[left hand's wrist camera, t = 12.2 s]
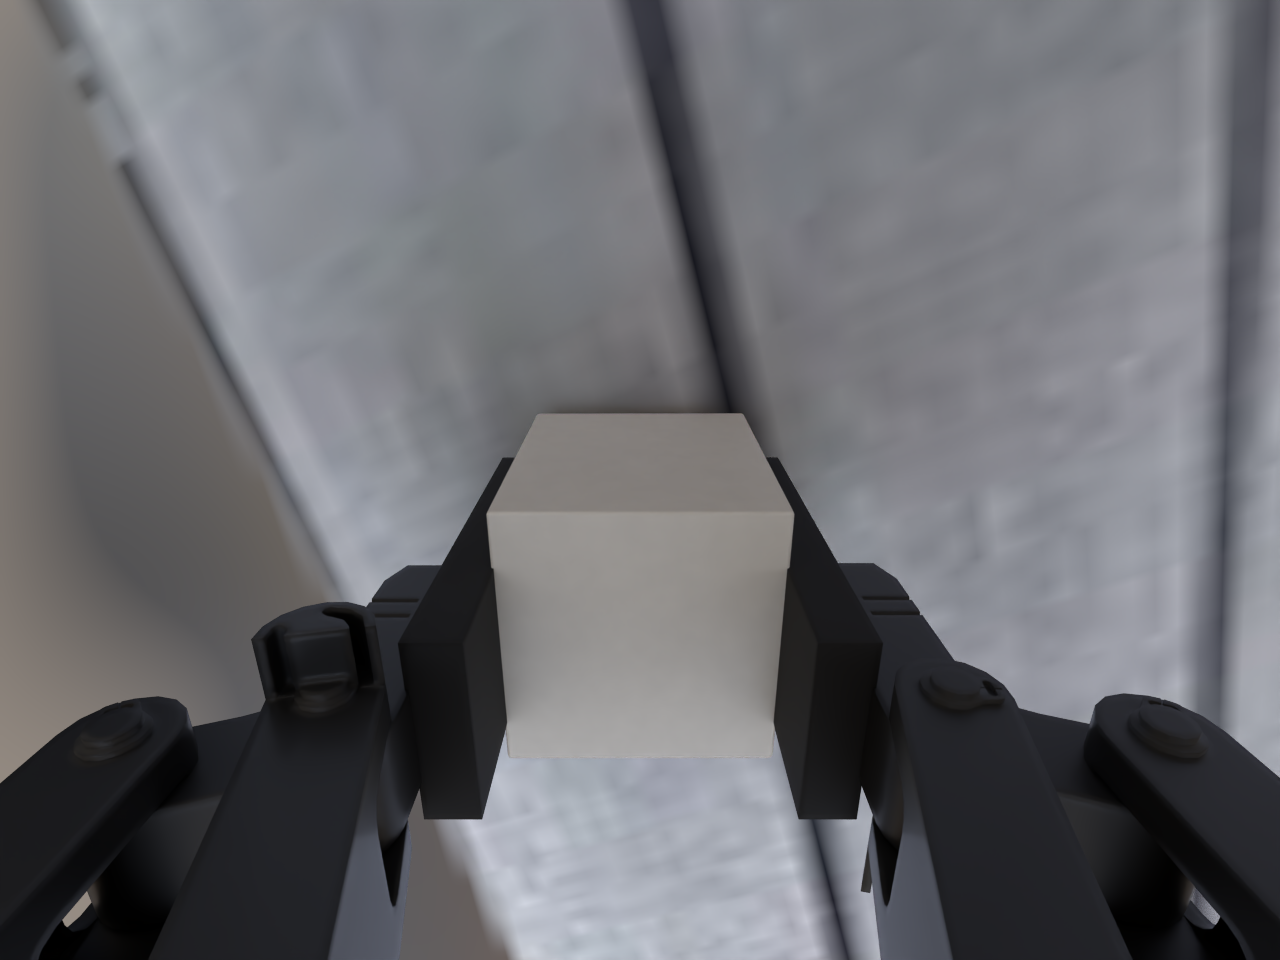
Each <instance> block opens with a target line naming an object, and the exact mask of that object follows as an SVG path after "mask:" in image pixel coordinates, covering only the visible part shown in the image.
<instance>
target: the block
mask: <svg viewBox="0 0 1280 960" xmlns="http://www.w3.org/2000/svg"><path fill="white" fill-rule="evenodd" d="M486 515H487V526H488V537H489V549H490V560H491V568H493V569H494V579H495V591H496V602H497V613H498V624H499V636H500V647H501V658H502V670H503V681H504V692H505V703H506V715H507V726H506V737H507V748H508V755H509V757H510V758H770V757H772V755H773V746H774V735H775V727H774V712H775V700H776V689H777V678H778V667H779V656H780V644H781V633H782V622H783V611H784V600H785V588H786V577H787V568H789V567H790V557H791V546H792V535H793V524H794V512H793V510H792V508H791V506H790V504H789V502H788V500H787V498H786V496H785V494H784V492H783V491H782V489H781V487H780V485H779V483H778V481H777V479H776V477H775V475H774V473H773V471H772V469H771V467H770V465H769V463H768V461H767V459H766V458H765V456H764V454H763V452H762V450H761V448H760V446H759V444H758V442H757V440H756V438H755V436H754V434H753V432H752V430H751V428H750V426H749V424H748V423H747V421H746V419H745V417H744V415H743V414H741V413H612V414H537V415H536V417H535V419H534V421H533V423H532V425H531V427H530V429H529V431H528V433H527V435H526V437H525V439H524V441H523V443H522V445H521V447H520V449H519V451H518V453H517V455H516V457H515V459H514V461H513V463H512V465H511V467H510V468H509V470H508V472H507V474H506V476H505V478H504V480H503V482H502V484H501V486H500V488H499V490H498V492H497V494H496V496H495V498H494V500H493V502H492V504H491V506H490V508H489V510H488V512H487V514H486Z"/></svg>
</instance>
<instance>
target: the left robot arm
mask: <svg viewBox="0 0 1280 960" xmlns="http://www.w3.org/2000/svg"><path fill="white" fill-rule="evenodd" d="M514 459H515V458H502V460H501V462H500V464H499V465H498V467H497V469H496V471H495V473H494V474H493V476H492V478H491V480H490V481H489V483H488V485H487V487H486V488H485V490H484V492H483V494H482V495H481V497H480V499H479V501H478V502H477V504H476V506H475V508H474V509H473V511H472V513H471V515H470V517H469V518H468V520H467V522H466V524H465V525H464V527H463V529H462V531H461V532H460V534H459V536H458V538H457V539H456V541H455V543H454V545H453V546H452V548H451V550H450V552H449V553H448V555H447V557H446V559H445V561H444V562H443V564H442V565H408V566H406V567H405V568H403V569H402V570H400V571H399V572H397V573H396V574H394V575H393V576H391V577H390V578H388V579H387V580H385V581H384V582H383V584H382V585H381V587H380V588H379V590H378V591H377V592H376V594H375V595H374V597H373V598H372V602H369V604H368V605H367V607H365V606H361V605H357V604H353V603H349V602H326V603H321V604H316V605H310V606H305V607H302V608H299V609H296V610H294V611H291V612H288V613H286V614H283V615H281V616H279V617H277V618H276V619H274V620H272V621H271V622H269V623H268V624H266V625H264V626H263V627H262V628H261V629H260V630H259V631H258V632H257V633H256V635H255V636H254V637H253V638H252V639H251V641H252V645H253V649H254V653H255V657H256V661H257V665H258V670H259V674H260V678H261V682H262V686H263V690H264V694H265V698H266V701H265V703H264V705H263V707H262V709H261V712H257V713H254V714H250V715H246V716H242V717H238V718H233V719H228V720H223V721H218V722H214V723H209V724H204V725H199V726H194V727H192V725H191V721H190V718H189V715H188V711H187V708H186V707H184V706H183V705H182V704H181V703H180V702H179V701H178V700H176V699H170V698H164V697H159V696H158V697H147V698H137V699H132V700H127V701H122V702H121V703H115V704H112V705H109V706H106V707H104V708H102V709H100V710H98V711H96V712H94V713H92V714H90V715H88V716H86V717H83V718H81V719H79V720H78V721H76V722H75V723H74V724H72V725H71V726H69V727H68V728H66V729H65V730H63V731H62V732H60V733H59V734H58V735H56V736H55V737H54V738H53V739H52V740H50V741H49V742H48V743H47V744H46V745H45V746H43V747H42V748H41V749H40V750H39V751H37V752H36V753H35V754H34V755H33V756H32V757H30V758H29V759H28V760H27V761H26V762H25V763H24V764H22V765H21V766H20V767H19V768H18V769H17V770H15V771H14V772H13V773H12V774H11V775H10V776H8V777H7V778H6V779H5V780H4V781H2V782H1V783H0V960H399V957H400V948H401V940H402V931H403V922H404V914H405V905H406V896H407V887H408V878H409V870H410V861H411V852H412V844H411V836H410V830H409V824H408V817H409V814H410V812H411V809H412V806H413V804H414V801H415V799H416V796H417V793H418V791H419V788H420V794H421V801H422V808H423V814H424V819H482V818H483V814H484V810H485V806H486V802H487V799H488V795H489V791H490V787H491V783H492V779H493V776H494V772H495V768H496V764H497V760H498V756H499V753H500V749H501V745H502V741H503V737H504V734H505V730H506V726H507V715H506V703H505V692H504V681H503V670H502V658H501V647H500V636H499V624H498V613H497V602H496V591H495V579H494V569H493V568H491V560H490V549H489V537H488V526H487V515H486V514H487V512H488V510H489V508H490V506H491V504H492V502H493V500H494V498H495V496H496V494H497V492H498V490H499V488H500V486H501V484H502V482H503V480H504V478H505V476H506V474H507V472H508V470H509V468H510V467H511V465H512V463H513V461H514ZM766 459H767V461H768V463H769V465H770V467H771V469H772V471H773V473H774V475H775V477H776V479H777V481H778V483H779V485H780V487H781V489H782V491H783V492H784V494H785V496H786V498H787V500H788V502H789V504H790V506H791V508H792V510H793V512H794V524H793V535H792V546H791V557H790V567H789V568H787V577H786V588H785V600H784V611H783V622H782V633H781V644H780V656H779V667H778V678H777V689H776V700H775V712H774V727H775V731H776V734H777V738H778V742H779V746H780V750H781V754H782V757H783V761H784V765H785V769H786V773H787V776H788V780H789V784H790V788H791V792H792V796H793V799H794V803H795V807H796V811H797V815H798V818H799V819H857V813H858V806H859V800H860V793H861V786H862V788H863V790H864V793H865V796H866V798H867V801H868V803H869V806H870V808H871V811H872V814H873V817H872V824H871V830H870V836H869V842H868V848H867V854H866V860H865V867H864V873H863V879H862V887H861V891H862V892H868V893H870V890H871V885H872V886H873V894H874V903H875V912H876V921H877V929H878V938H879V947H880V955H881V960H1280V778H1279V777H1278V776H1277V775H1276V774H1275V773H1273V772H1272V771H1271V770H1270V769H1269V768H1268V767H1266V766H1265V765H1264V764H1263V763H1262V762H1260V761H1259V760H1258V759H1257V758H1256V757H1255V756H1253V755H1252V754H1251V753H1250V752H1249V751H1247V750H1246V749H1245V748H1244V747H1243V746H1242V745H1240V744H1239V743H1238V742H1237V741H1236V740H1235V739H1233V738H1232V737H1231V736H1230V735H1229V734H1227V733H1226V732H1225V731H1223V730H1222V729H1221V728H1219V727H1218V726H1216V725H1215V724H1213V723H1212V722H1210V721H1209V720H1207V719H1206V718H1204V717H1203V716H1201V715H1199V714H1197V713H1195V712H1192V711H1190V710H1188V709H1186V708H1184V707H1182V706H1180V705H1178V704H1176V703H1173V702H1170V701H1167V700H1161V699H1160V698H1156V697H1151V696H1145V695H1134V694H1124V693H1123V694H1118V695H1112V696H1106V697H1104V698H1103V699H1102V700H1101V701H1100V702H1099V703H1097V704H1096V705H1095V708H1094V711H1093V715H1092V718H1091V721H1090V724H1087V723H1082V722H1077V721H1072V720H1067V719H1062V718H1058V717H1053V716H1048V715H1043V714H1038V713H1035V712H1031V711H1027V710H1024V709H1020V708H1018V706H1017V704H1016V702H1015V699H1014V698H1013V697H1012V695H1011V694H1010V693H1009V691H1008V690H1007V689H1006V687H1005V686H1004V685H1003V684H1002V683H1000V682H999V681H998V680H996V679H995V678H993V677H992V676H991V675H989V674H988V673H986V672H984V671H982V670H980V669H977V668H975V667H973V666H970V665H968V664H966V663H962V662H957V661H954V659H953V658H952V656H951V655H950V654H949V652H948V651H947V649H946V648H945V646H944V645H943V644H942V642H941V641H940V639H939V638H938V637H937V635H936V634H935V632H934V631H933V630H932V628H931V627H930V625H929V624H928V622H927V621H926V620H925V618H924V617H923V615H920V611H919V610H918V608H917V607H916V605H915V604H914V603H913V601H912V600H909V596H908V594H907V593H906V591H905V590H904V588H903V587H902V586H901V584H900V583H899V581H898V580H897V579H896V578H895V577H893V576H892V575H890V574H889V573H887V572H886V571H884V570H883V569H881V568H880V567H878V566H877V565H875V564H874V563H837V561H836V559H835V557H834V556H833V554H832V552H831V550H830V549H829V547H828V545H827V543H826V541H825V540H824V538H823V536H822V534H821V533H820V531H819V529H818V527H817V526H816V524H815V522H814V520H813V519H812V517H811V515H810V513H809V512H808V510H807V508H806V506H805V505H804V503H803V501H802V499H801V498H800V496H799V494H798V492H797V490H796V489H795V487H794V485H793V483H792V482H791V480H790V478H789V476H788V475H787V473H786V471H785V469H784V468H783V466H782V464H781V462H780V461H779V459H778V458H766ZM1195 887H1196V889H1197V890H1198V891H1199V892H1200V893H1201V894H1202V896H1203V897H1204V898H1205V899H1206V900H1207V901H1208V903H1209V904H1210V905H1211V906H1212V907H1213V908H1214V910H1215V911H1216V912H1217V913H1218V914H1219V915H1220V919H1219V921H1218V923H1217V924H1216V925H1214V924H1212V923H1211V922H1210V921H1209V920H1208V919H1207V918H1206V917H1205V916H1204V915H1203V914H1202V913H1201V912H1200V911H1199V910H1198V908H1197V907H1196V906H1195V905H1194V904H1193V902H1192V901H1191V897H1192V895H1193V892H1194V890H1195ZM86 891H87V892H88V894H89V897H90V899H91V902H92V903H91V904H90V905H89V906H88V907H87V909H86V910H85V911H84V912H83V913H82V915H81V916H80V917H79V918H78V919H77V920H75V921H74V922H73V923H72V924H71V925H70V926H68V927H66V926H65V925H64V923H63V921H62V919H63V918H64V917H65V916H66V915H67V914H68V912H69V911H70V910H71V909H72V908H73V907H74V905H75V904H76V903H77V902H78V901H79V899H80V898H81V897H82V896H83V895H84V894H85V893H86Z"/></svg>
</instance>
